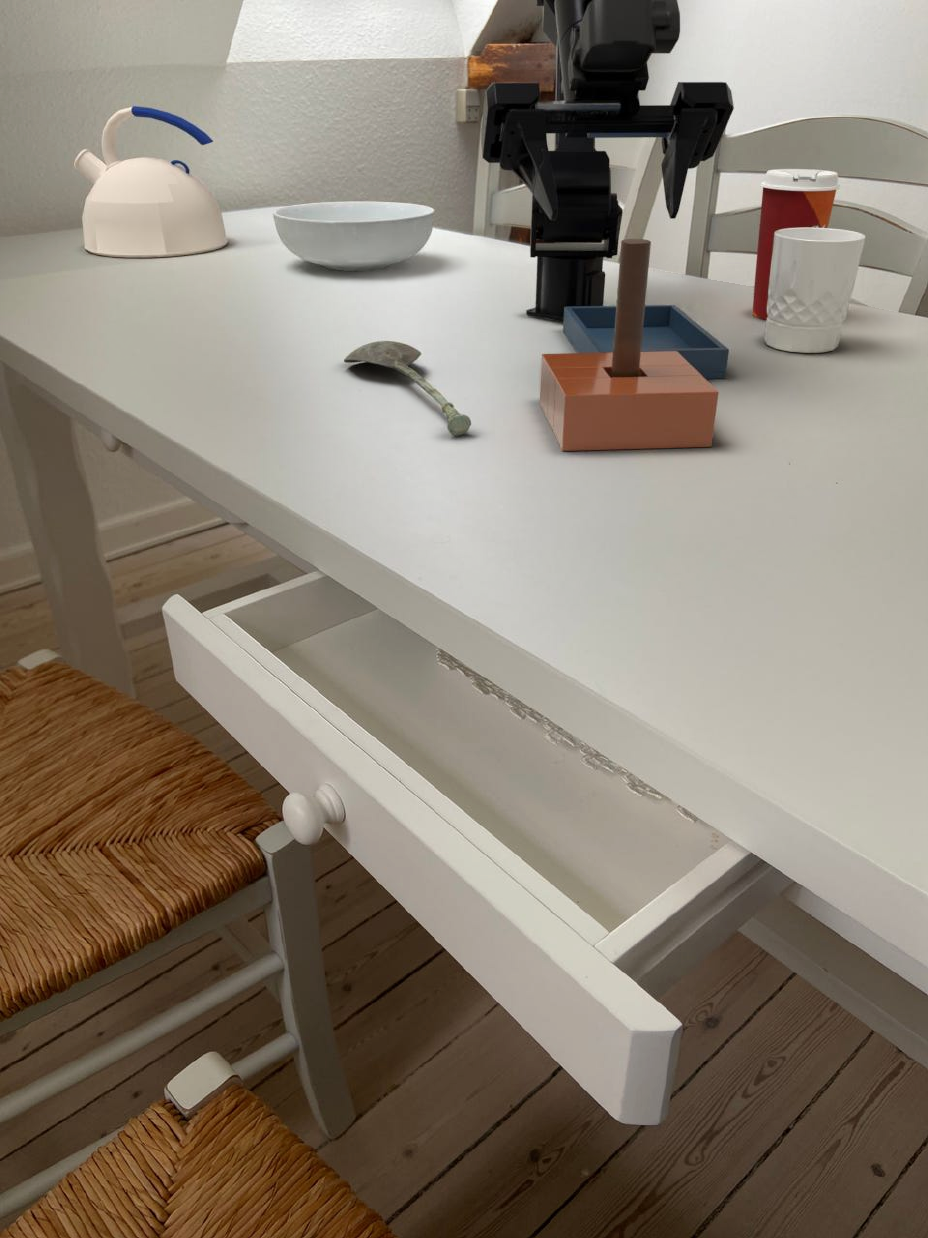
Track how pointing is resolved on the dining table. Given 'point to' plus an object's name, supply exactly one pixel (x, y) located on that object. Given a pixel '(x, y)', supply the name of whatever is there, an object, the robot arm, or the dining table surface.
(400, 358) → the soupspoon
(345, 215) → the serving bowl
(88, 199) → the kettle
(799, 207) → the paper cup
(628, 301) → the walnut stick
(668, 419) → the stick holder base
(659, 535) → the dining table surface
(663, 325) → the tray
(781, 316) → the white cup
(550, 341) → the dining table surface
